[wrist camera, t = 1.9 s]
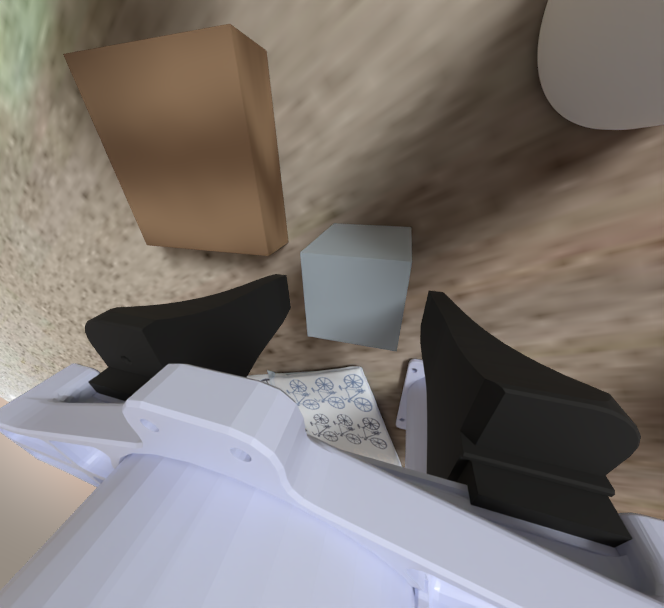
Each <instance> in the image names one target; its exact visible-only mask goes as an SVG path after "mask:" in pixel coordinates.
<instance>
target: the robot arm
mask: <svg viewBox="0 0 664 608" xmlns="http://www.w3.org/2000/svg"><path fill="white" fill-rule="evenodd" d="M290 308H291V306H290V299H289V291H288V284H287V276H286V275H279V274H275V275H270V276H267V277H264V278H261V279H259V280H256V281H253V282H250V283H248V284H245V285H242V286H239V287H236V288H234V289H231V290H228V291H225V292H221V293H218V294H214V295H210V296H206V297H202V298H197V299H192V300H187V301H182V302H175V303H168V304H160V305H150V306H135V307H117V308H113V309H110V310H108V311H106V312H104V313H102V314H100V315H98V316H96V317H94V318H93V319H91V320H89V321H87V323H86V325H85V333H86V335H87V338H88V339H89V341H90V343H91V344H92V346H93V347H94V348H95V350H96V351H97V352H98V354H99V355H100V356H101V358H102V359H103V360H104V362H105V363H106V364H107V366H108V368H107V369H106V370H104V371H103V372H101V373H100V372H99V371H98V370H96V369H94V368H91V367H87V366H83V365H80V364H71V365H69V366H67V367H66V368H64V369H63V370H61V371H59V372H58V373H56V374H55V375H53V376H51V377H50V378H48V379H46V380H45V381H43V382H42V383H40V384H38V385H37V386H35V387H33V388H32V389H30V390H29V391H27V392H25V393H24V394H22V395H20V396H19V397H17V398H16V399H14V400H12V401H11V402H9V403H8V404H6V405H4V406H3V407H1V408H0V432H1V433H2V434H3V435H5V436H6V437H8V438H9V439H10V440H12V441H13V442H14V443H16V444H17V445H19V446H20V447H21V448H23V449H24V450H25V451H27V452H28V453H29V454H31V455H32V456H34V457H35V458H37V459H38V460H40V461H43V462H45V463H47V464H49V465H52V466H54V467H56V468H58V469H61V470H63V471H65V472H67V473H69V474H71V475H73V476H75V477H77V478H79V479H81V480H83V481H85V482H87V483H89V484H91V485H93V486H96V487H97V488H96V489H95V490H94V492H93V493H92V494H91V495H90V496H89V497H88V498H87V499H86V500H85V501H84V502H83V503H82V504H81V505H80V506H79V507H78V509H77V510H76V511H75V512H74V513H73V514H72V515H71V516H70V517H69V518H68V519H67V520H66V521H65V522H64V523H63V524H62V526H61V527H60V528H59V529H58V530H57V531H56V532H55V533H54V534H53V535H52V536H51V537H50V538H49V539H48V540H47V541H46V543H45V544H44V545H43V546H42V547H41V548H40V549H39V550H38V551H37V552H36V553H35V554H34V555H33V556H32V557H31V559H30V560H29V561H28V562H27V563H26V564H25V565H24V566H23V567H22V568H21V569H20V570H19V571H18V572H17V573H16V574H15V576H14V577H13V578H12V579H11V580H10V581H9V582H8V583H7V584H6V585H5V586H4V587H3V588H2V589H1V591H0V608H664V520H661V519H657V518H654V517H650V516H646V515H642V514H637V513H619V514H618V513H617V511H616V509H615V508H614V506H613V504H612V502H611V501H610V499H609V497H608V496H610V497H612V496H614V495H615V490H614V488H613V487H612V485H611V484H610V482H609V480H608V479H607V477H606V474H608V473H609V472H610V471H612V470H613V469H614V468H616V467H617V466H618V465H620V464H621V463H622V462H623V461H625V460H626V459H627V458H629V457H630V456H631V455H632V454H633V452H634V451H635V450H636V449H637V448H638V446H639V443H640V438H641V435H640V433H639V430H638V428H637V426H636V425H635V424H634V422H633V421H632V420H631V419H630V418H629V416H628V415H627V414H626V413H625V412H624V410H623V409H622V408H621V407H620V406H619V404H618V403H617V402H616V401H615V400H614V399H613V397H612V396H611V395H610V394H609V393H606V392H604V391H602V390H599V389H597V388H594V387H592V386H589V385H587V384H585V383H582V382H580V381H577V380H575V379H573V378H570V377H568V376H565V375H563V374H561V373H559V372H557V371H555V370H553V369H550V368H548V367H546V366H544V365H542V364H540V363H538V362H536V361H534V360H532V359H530V358H529V357H527V356H525V355H523V354H521V353H520V352H518V351H516V350H514V349H513V348H511V347H509V346H508V345H506V344H504V343H503V342H501V341H500V340H498V339H497V338H495V337H494V336H493V335H491V334H490V333H488V332H487V331H485V330H484V329H483V328H482V327H480V326H479V325H478V324H477V323H475V322H474V321H473V320H472V319H471V318H470V317H468V316H467V315H466V314H465V313H464V312H463V311H462V310H461V309H460V308H459V307H458V306H457V305H456V304H455V303H454V302H453V301H452V300H451V299H450V298H449V297H448V296H447V295H446V294H445V293H443V292H436V291H429V292H428V296H427V301H426V305H425V309H424V314H423V318H422V322H421V335H420V344H421V352H422V359H423V360H419V359H411V360H410V361H409V363H408V368H407V373H406V377H405V382H404V386H403V391H402V396H401V400H400V405H399V410H398V414H397V419H396V426H397V427H398V428H401V429H405V430H406V455H405V468H404V467H401V466H397V465H394V464H390V463H387V462H383V461H380V460H376V459H372V458H369V457H365V456H362V455H358V454H355V453H351V452H348V451H344V450H341V449H339V448H336V447H334V446H332V445H330V444H328V443H326V442H324V441H322V440H320V439H318V438H316V437H313V436H311V435H309V434H307V433H306V431H305V423H304V417H303V415H302V413H301V411H300V409H299V407H298V406H297V404H296V402H295V400H294V399H292V398H291V397H290V396H289V395H288V394H286V393H285V392H284V391H283V390H282V389H280V388H278V387H275V386H273V385H270V384H268V383H265V382H263V381H259V380H255V379H250V378H247V376H248V374H249V372H250V370H251V369H252V367H253V365H254V363H255V362H256V360H257V358H258V357H259V355H260V354H261V352H262V351H263V349H264V348H265V346H266V345H267V344H268V342H269V341H270V340H271V338H272V337H273V336H274V334H275V333H276V332H277V330H278V329H279V327H280V326H281V325H282V323H283V322H284V320H285V318H286V316H287V314H288V312H289V310H290ZM413 368H415V369H413Z"/></svg>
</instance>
